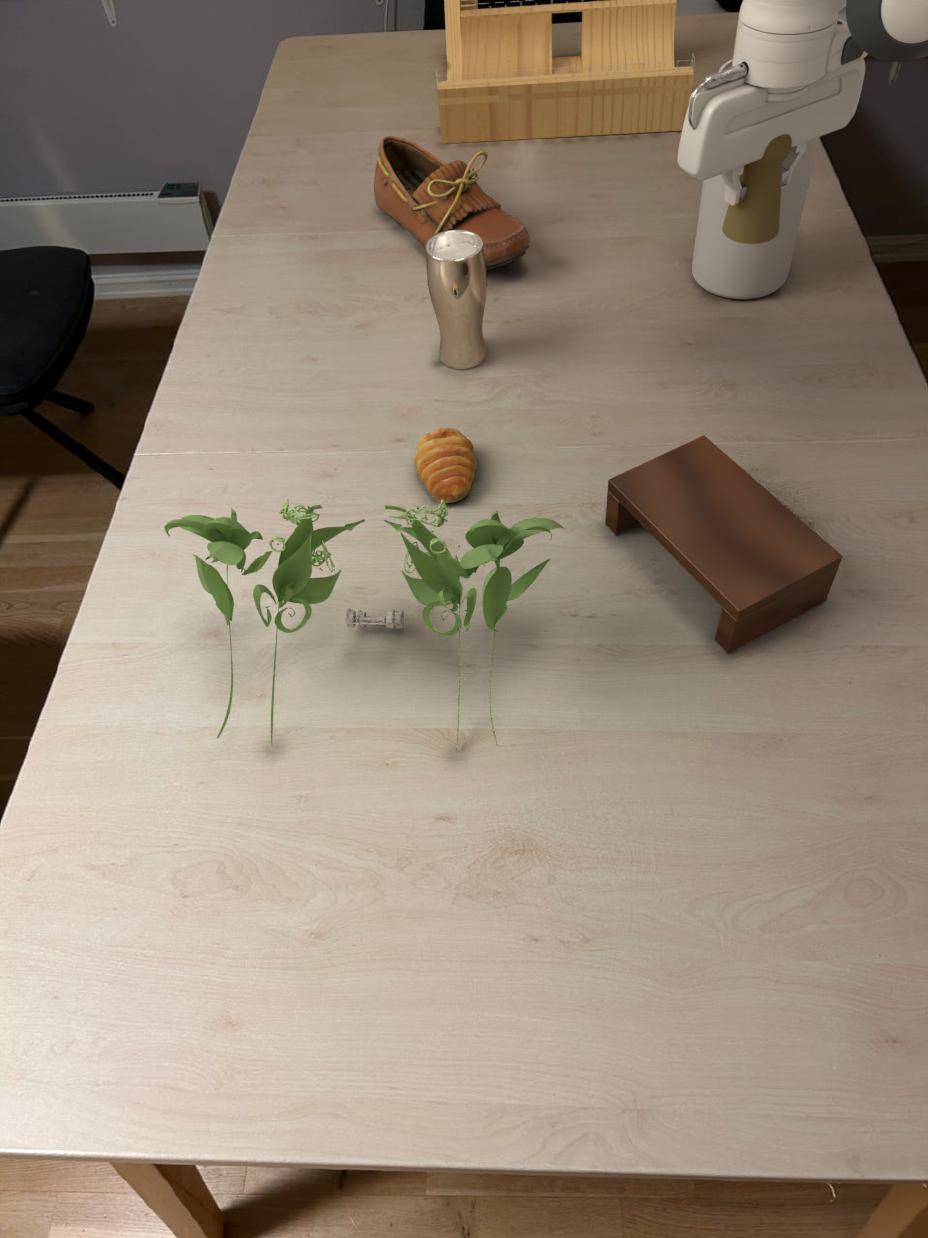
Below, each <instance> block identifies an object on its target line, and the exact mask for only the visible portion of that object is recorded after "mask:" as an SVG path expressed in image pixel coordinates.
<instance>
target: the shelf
mask: <svg viewBox="0 0 928 1238" xmlns="http://www.w3.org/2000/svg"><path fill="white" fill-rule="evenodd" d="M606 493H607V494H606V509H605V521H604V525H605V526H606V527H607V528H608V529H609V531H610V532H612V533H613V535H614V536H619V535H620V534H623V533H624V532H627V531H628V530H631V529H633V528H635V527H637V526H639V525H641V526H642V527H643V528H644V529H645V530H646V531H647V532H648V533H649V534H650V536H652V537H653V538H654V539H655V540H656V541H657V542H658V543H659V544H660V545H661V546H662V547H663V548H664V549H665V550H666V551H667V553H668V554H670V555H671V556H672V557H673V558H674V559H675V560H676V561H677V562H678V563H679V564H680V565H681V566H682V568H683V569H685V571H686V572H687V573H688V574H689V575H690V576H691V577H692V578H694V580H695V581H696V582H697V583H698V584H699V585H700V586H701V587H702V588H703V589H704V590H705V591H706V592H707V593H708V594H709V595H710V596H711V597H712V598H713V599H714V600H715V601H716V602H717V603H718V604H719V605H720V606H721V607H722V608H721V610H720V611H721V612H720V615H719V621H718V624H717V628H716V632H715V636H714V641H715V642H716V643H717V644H718V646H719V647H721V648H722V650H723V651H724V652H725V653H726V654H727V655H730V654H731V653H733V652H735V651H737V650H738V649H741V648H742V647H744V646H746V645H748V644H749V643H751V642H753V641H755V640H757V639H759V638H761V637H762V636H764V635H766V634H767V633H768V634H769V632H772V631H773V630H775V629H777V628H779V627H781V626H783V625H785V624H786V623H788V622H791V621H792V620H793V619H795V618H798V617H799V616H801V615H803V614H805V613H807V612H808V611H810V610H812V609H814V608H815V607H817V606H819V605H822V604H823V603H824V602H826V601H827V600H828V597H829V595H830V592H831V590H832V587H833V584H834V581H835V579H836V577H837V573H838V571H839V568H840V565H841V562H842V560H843V557H844V556H843V554H841V553H840V552H839V551H838V550H837V549H836V548H834V547H833V546H832V545H831V544H830V543H829V542H828V541H827V540H825V539H824V538H823V537H822V536H821V535H820V534H818V532H816V531H815V530H814V529H813V528H811V527H810V526H809V525H808V524H807V523H806V522H805V521H803V520H802V519H801V517H799V516H798V515H796V514H795V513H794V512H793V511H792V510H791V509H790V508H789V507H788V506H787V505H785V504H784V503H783V502H781V501H780V500H779V498H777V497H776V496H774V495H773V494H772V493H771V492H770V491H769V490H768V489H767V488H765V486H763V485H762V484H761V483H760V482H759V481H757V480H756V479H755V478H754V477H753V476H752V475H750V473H748V472H747V471H746V470H745V469H744V468H742V466H740V464H738V463H737V462H736V461H734V460H733V458H731V457H730V456H729V455H728V454H727V453H726V452H724V451H723V450H722V449H721V448H720V447H718V446H717V445H716V444H715V443H714V442H713V441H712V440H710V439H709V437H707V436H706V435H701V436H699V437H697V438H695V439H693V440H691V441H688V442H687V443H684V444H683V445H679V446H678V447H675V448H674V449H672V450H669V451H666V452H665V453H663V454H660V455H659V456H656V457H654V458H652V459H650V460H648V461H646V462H643V463H641V464H639V465H637V466H634V467H632V468H630V469H628V470H625V471H624V472H621V473H619V474H618V475H615V476H613V477H611V478H608V480H607V492H606Z"/></svg>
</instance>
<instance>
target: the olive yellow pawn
mask: <svg viewBox="0 0 928 1238" xmlns="http://www.w3.org/2000/svg"><path fill="white" fill-rule="evenodd" d="M791 145H792V139H791V136H790V135H789V134H783V135H780V136H778V137H776V138H774V139H773V140H772V141H771V142H770V143H769V144H768V146H767V147H766V149H765V152H764V154H763V157H762V158H761V159H760V160H757V161H754V162H752V163H749V164H747V165H744V170H743V173H742V174H741V175H738V177H739V180H740V182H741V183H742V184H745V185H747V186H748V190H747V193H746V200H745V201H744V202H741V203H739V204H736V205H733V206H732V205H730V204H729V206H728V209H727V213H726V216H725V220H724V223H723V227H722V230H723V233H724V234H725V236H726V237H728V238H729V239H731V240H733V241H736V242H739V243H744V244H760V243H765V242H768V241H770V240H772V239H774V238H775V237H776V236H777V235H778V232H779V221H780V204H781V186H782V168H783V161H784V160H785V159H786V158H787V156H788V154H789V152H790V149H791Z"/></svg>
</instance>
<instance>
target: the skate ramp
mask: <svg viewBox="0 0 928 1238" xmlns="http://www.w3.org/2000/svg"><path fill="white" fill-rule="evenodd" d="M443 1H444V20H445V21H444V23H445V24H444V25H445V46H446V47H445V48H446V49H445V50H446V80H440V81H439V76H440V77H441V76H442V74H438V68H435V69H436V70H435V78H436V80H435V83H436V84H435V85H436V95H437V107H438V115H439V128H440V140H441V145H442V144H443V145H444V144H446V145H447V144H465V143H480V142H482V143H483V142H499V141H515V140H516V141H517V140H519V141H520V140H535V139H536V140H537V139H552V138H553V139H554V138H571V137H573V138H574V137H588V136H589V137H591V136H605V135H606V136H607V135H626V134H627V135H628V134H643V133H645V134H646V133H663V132H664V133H665V132H682V129H683V125H684V121H685V117H686V113H687V110H688V107H689V100H690V96H691V94H692V93H693V92H694V90H693V89H694V83H695V72H694V71H695V68H694V67H695V64H696V59H695V58H694V57H695V56H694V54H692V57H691V63H690V65H689V66H676V65H675V23H676V13H677V12H676V11H677V3H678V0H593V1H580V2H565V3H553V0H550V4H534V5H522V2H519V4H520V5H519V6H518V5H517V6H504V7H503V6H502V7H487V8H479V2H478V0H443ZM530 1H533V0H526V2H530ZM516 2H518V0H517V1H516V0H515V1H513V0H512V1H511V3H516ZM500 3H503V1H499V2H497V1H496V4H500ZM485 4H488V2H484V3H483V2H482V3H480V5H485ZM579 12H580V13H581V37H580V39H581V40H580V42H581V43H580V55H574V56H558V57H553V52H552V51H553V27H552V25H553V24H552V23H553V14H564V13H565V14H566V13H579ZM693 58H694V59H693ZM689 61H690V59H684V60H683V59H681V62H689ZM679 62H680V60H676V63H679Z"/></svg>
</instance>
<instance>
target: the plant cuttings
mask: <svg viewBox="0 0 928 1238" xmlns="http://www.w3.org/2000/svg"><path fill="white" fill-rule="evenodd" d="M415 507H416V509H414V508H409V509H405V508H403V507H400V506H395V505H386V504H385V505H384V508H385V510H395V511H400V512H403V513H402V514H399V515H397V514H391V513H388V514H387V517H389V518H394V519H398V520H399V519H400V520H405V523H406V525H407V526H403V525H402V524H400V523H395V522H392V521H389V520H386V519H383V522H384V523H386V524H388V525H390V526H391V527H392V528H394V529H395V531H396V532H400V535H401V538H402V540H403V541H402V542H403V543H404V545H405V548H406V554H405V557H404V560H403V568H404V571H405V572H404V571H403V570H401V571H400V572H401V573H402V575H403V578H404V579H405V581H406V583H407V585H408V587H409V589H410V591H411V593H412V595H413V597H414V598H415V599H416V601H417V602H418V603H420V604H422V605H424V607H423V608H422V610H421V619H422V621H423V623H424V624H425V626H426V627H427V628H428V630H430V631H431V632H433V633H434V634H436V635H438V636H441V637H450V636H453V635H456V634H457V633H458V683H457V684H458V687H457V688H458V689H457V693H458V694H457V727H456V746H455V747H456V748H455V753H457V751H458V741H459V730H460V729H459V727H460V697H461V695H460V689H461V687H460V686H461V685H460V684H461V629H462V627H464V629H465V631H466V632H467V631H468V630H469V628H470V624H471V619H472V617H473V614H474V611H475V608H476V604H477V598H478V593H477V589H476V587H471V588H470V589H468V590H467V592H466V594H465V596H464V597H463V600H462V596H463V584H462V582H461V580H460V577H461V578H463V579H467V580H468V579H470V578H471V576H472V575H473V574H474V573H475V574H476V573H477V571H478V569H479V567H480V566H481V565H482V566H483V567H486V564H487V563H489V562H493V561H494V563H495V566H496V567H494V568H493V569H491V570H490V571H489V573H488V574H487V575H486V577H485V579H484V582H483V586H482V593H481V606H482V613H483V619H484V623H485V624H486V627H487V628H488V629H489V630H491V631H493V635H495V634H496V633H499V631H498V630H497V628H496V625H497V624H498V623H499V621H500V620H501V619H502V618H503V617H504V615H505V614H506V612H507V610H508V608H509V607H508V602H511V601H514V600H516V599H518V598H520V597H521V596H522V595H523V594H524V593H525V592H526V591H527V590H528V589H529V588H530V587H531V585H532V584H533V583H534V582H535V581H536V579H537V578H538V576H539V575H540V574H541V572H542V571H543V570H544V568H545V567H546V566H547V564H548V563H549V562H550V561H551V559H550V558H548V559H546V560H544V561H542V562H541V563H539V564H538V565H535V566H534V567H533V568H531V569H530V570H528V571H527V572H526V573H524V574H522V575H521V576H520V577H519V578H517V579H516V580H515V581H514V582H513V578H512V573H511V570H510V569H509V567H507V566H504V565H502V566H501V563H502V559H505V558H506V557H509V556H510V555H512V554H515V553H516V552H517V551H518V550H520V549H521V548H522V547H523V545H524V543H525V540H524V539H526V538H529V537H532V536H535V535H538V534H540V533H544V532H547V533H550V539H549V540H550V541H552V537H553V535H552V532H551V531H552V530H555V529H562V530H563V529H564V526H563V525H562V524H560V523H559V522H557V521H556V520H554V519H551V518H548V517H530V518H526V519H523V520H520V521H518V522H516V523H514V524H512V525H511V526H509V528H508V527H507V526H506V525H505V524H503V522H502V521H501V518H500V515H499V510H496V511H495V512H493V513H492V514H491V515H490V518H486V519H481V520H479V521H477V522H476V523H475V524H473V525H472V526H471V527H469V529H468V530H467V531H466V533H465V534H464V535H465V536H464V537H465V540H466V542H467V543H468V545H469V546H470V547H472V549H470V550H468V551H466V552H465V553H464V554H463V555H462V556H461V557H460V560H459V558H458V556H457V554H455V557H453V556H452V554H451V552H450V550H449V548H448V546H447V543H446V542H445V540H443V539H440V538H439V537H438V536H436V535H435V534H434V529H432V530H431V531H430V530H429V529H428V527H426V526H425V525H429V526H430V525H431V526H432V527H434V528H440V527H442V526H443V525H445V522H446V523H448V519H447V518H446V517H447V516H449V512H448V509H447V505H446V503H444V500H443V499H442V501H441V503H440V504H438V507H437V508H435V509H432V508H431V506H429V505H427V504H424V505H422V506H421V507H419V506H418V505H416V506H415ZM426 508H427V509H428V510H427V509H426ZM321 509H323V507H322V505H321V504H315V505H312V506H310V504H309V505H307V507H305V506H304V505H302V504H300V503H299V504H296V505H294V507H292V508H291V507H290V505H289V498H286V499H285V502H284V503H283V504H282V507H281V509H280V510H279V514H280V515H281V518H282V520H283V519H284V520H285V521H290V523H291V524H293V525H295V526H296V528H295V529H293V532H292V533H291V535H290V536H289V537H288V538H287V540H286V539H285V537H283V536H275V537H272V538H271V539H270V540H269V547H270V549H271V550H268V551H265V552H264V554H262V555H260V556H258V557H257V558H255V559H254V560H253V561H252V562H251V563H250V565H249V566H248V567H247V569H246V568H245V565H246V562H247V561H246V560H247V555H246V551H245V550H246V549H248V547H249V546H250V545H251V543H252V540H260V541H261V540H262V541H263V540H264V538H263V536H262V534H261V532H260V531H258V530H255V531H252V532H250V531H248V530H247V529H246V527H244V526H243V525H242V524H241V523H240V522H239V521H238V515H237V512H236V510H234V509H233V508H232V507H230V510H231V513H230V517H229V516H228V517H227V516H220V517H216V518H213V517H211V516H208V515H201V514H190V515H186V516H183V517H181V518H177V519H172V520H170V521H168V522H167V523H166V524H165V525H164V531H165V533H166V534H167V536H168V537H171V534H169V531H170V530H171V529H176V528H180V529H183V530H185V531H188V532H190V533H192V534H194V535H197V536H199V537H201V538H203V539H205V540H208V543H207V546H206V547H207V551H208V553H209V554H208V555H207V556H206V557H205V560H204V559H202V558H201V557H200V556H198V555H197V554H193V557H194V559H195V563H196V564H195V565H196V570H197V575H198V579H199V581H200V584H201V587H202V588H203V589H204V590H205V592H206V593H208V594H210V595H211V596H212V598H213V600H214V601H215V605H216V607H217V609H218V610H219V611H220V612H221V613H222V614H223V616H224V619H225V622H226V627H229V630H231V621H232V622H233V615H234V607H235V600H234V596H233V594H232V592H231V589H230V587H229V579H228V577H229V573H228V572H229V566H236V569H237V570H240V573H241V576H247V575H250V574H254V573H257V572H259V571H260V570H261V569H263V567H264V566H265V564H266V562H267V561H268V560H269V558H270V557H271V555H272V553H273V551H274V552H277V553H280V554H279V558H278V563H277V568H276V569H275V571H274V572H273V575H272V580H271V581H272V583H271V585H272V588H273V590H274V593H275V595H276V597H277V600H276V598H275V596H274V594H273V592H272V591H271V590H270V589H269V588H268V586H266V585H263V584H260V583H259V584H256V585H255V586H254V587H253V591H252V596H253V602H254V605H255V607H256V610H257V612H258V614H259V616H260V618H261V621H262V623H263V624H264V626H265V627H266V628H268V627H269V626H270V624H271V623H272V613H271V611H270V609H269V608H270V606H269V605H268V606H264V609H266V616H267V619H266V618H265V617H264V615H263V612H262V608H261V598H262V595H263V594H264V593H265V594H267V595H268V596H269V597H270V598H271V599H272V601H273V603H274V604H275V605H278V606H277V613H276V615H275V616H274V625H275V627H276V630H275V631H276V632H275V648H274V658H273V672H272V687H271V704H270V705H271V706H270V745H273V733H274V731H273V730H274V729H273V728H274V705H275V704H274V703H275V685H276V683H275V682H276V679H275V678H276V665H277V664H276V663H277V661H276V660H277V647H278V645H277V643H278V630H279V631H280V632H282V633H286V634H292V633H295V632H297V631H299V630H300V629H302V628H304V626H305V625H306V624H307V623H308V622H309V620H310V618H311V617H312V612H313V608H312V606H311V605H317V604H321V603H323V602H325V601H326V600H328V599H329V597H330V596H331V595H332V592H333V590H334V588H335V586H336V584H337V581H338V579H339V577H340V575H341V573H342V569H338V570H339V571H338V572H336V573H335V574H333V575H330V576H329V575H328V576H324V577H311V576H312V572H313V567H315V568H316V567H317V568H318V567H320V566H322V565H323V564H324V563H326V566H327V568H328V570H329V572H330V573H333V572H335V571H336V569H335V567H336V566H335V564H334V562H333V560H332V558H331V556H332V552H330V551H329V550H328V548H327V545H326V543H328V542H329V541H330V540H332V539H333V538H335V537H336V536H338V535H339V534H341V533H343V532H345V531H353V530H354V528H356V527H357V526H358V525H360V524H362V523H364V522H366V519H364V518H363V519H361V520H358V521H355V522H351V523H345V524H344V525H343V526H325V527H321V528H317V529H314V522H316V521H318V520H319V518H320V513H316V512H314V511H316V510H321ZM411 512H413V514H412V513H411ZM301 513H304V514H301ZM418 514H424V515H423V516H422V517H421V518H418V517H417V516H416V515H418ZM427 514H430V515H433V516H435V517H434V518H433V520H431V521H430V522H428V521H427V520H429V518H428V516H427ZM409 522H410V523H409ZM435 522H436V523H435ZM424 524H425V525H424ZM410 526H411V527H410ZM402 532H405V533H406V534H408V535H409V536H411V537H412V538H414V539H415V540H417V541H418V542H419V543H421V545H422V546H423V548H424V549H425V550H426V551H423V550H421V549H420V547H419V545H418V544H419V543H418V542H417V541H413V542H411V541H410V540H409V539H408V538H407V537H406V536H405V535H404V534H403V533H402ZM275 541H276V542H277V543H276V545H277V546H279V545H280V543H282V545H283V546H282V548H281V549H276V548H275V547H274V546H273V543H274V542H275ZM320 547H322V550H320V549H318V548H320ZM460 547H461V545H460V544H458V545H457V548H460ZM319 553H320V554H319ZM409 557H410V560H411V561H410V563H409V561H408V560H409ZM209 559H212V560H211V561H210V563H207V562H206V561H207V560H209ZM328 560H329V561H328ZM217 562H219V563H221V564H224V565H226V581H225V580H224V579H223V576H222V575H221V573H220V571H218V570H217V568H215V567H214V566H213V565H211V564H213V563H217ZM329 562H330V565H329ZM316 563H317V564H316ZM406 565H407V568H408V570H407V568H406ZM412 566H414V568H413V570H412V571H410V569H411V567H412ZM330 567H331V568H330ZM319 570H320V571H321V572H323V571H324V570H323V569H322V568H321V567H320V568H319ZM415 570H416V572H417V574H418V575H419V576H420V578H418V577H417V578H416V577H412V576H409V575H408V574H412V573H414V572H415ZM512 582H513V583H512ZM465 599H466V609H464V611H465V612H466V613H465V615H464V620H463V621H462V617H461V607H462V605H463V603H464V601H465ZM461 601H462V602H461ZM288 603H294V604H297V605H298V604H299V605H302V606H303V607H304V610H305V613H304V616H303V619H302V620H301V622H300V623H299V624H298V625H297V626H296V627H294V628H287V627H286V626H285V624H284V623H283V620H282V616H283V614H284V612H285V611H286V610H288V607H285V605H287V604H288ZM450 605H452V608H449V607H448V606H450ZM283 607H284V608H283ZM438 607H439V608H440V607H445V608H446V609H448V611H449V613H451V614H452V615H453V616H454V620H455V621H454V625H453V627H452V628H451V629H449V630H447V631H445V632H443V631H439V630H437V629H436V628H435V626H434V625H433V623H432V621H431V616H430V615H431V612H432V610H433V609H434V608H438ZM281 608H282V609H281ZM279 609H281V610H279ZM289 609H290V610H292V611H293V615H292V614H291V613H290V612H288V613H287V614H288V615H289V616H290V618H293V617H294V616H296V611H295V610H294V609H293V608H292V607H289ZM357 611H358V612H357ZM357 611H356V610H352V609H351V608H347V609H346V614H345V622H344V624H346V626H347V628H355V627H356V625H357V627H358V628H366V627H367V626H386V628H389V629H395V628H396V629H403V628H404V623H405V619H404V618H405V614H404V613H405V612H404V610H400V611H395V608H393V609H391V610H387V612H386V615H382V617H371V616H370V615H367V612H366V611H362V609H358V610H357ZM457 611H458V613H457ZM446 612H447V610H444V611H443V612H442V613H441V615H440V618H441V619H442V621H445V620H446V619H447V617H448V616H444V618H443V614H444V613H446ZM495 632H496V633H495ZM494 646H495V637H493V640H492V649H494ZM229 647H230V648H229V649H230V690H229V691H230V693H229V699H228V703H227V704H228V705H227V709H226V713H225V717H224V720H223V723H222V725H221V727H220V730H219V732H218V734H217V736H216V739H219V738H220V736H221V735H222V733H223V731H224V729H225V727H226V724H227V722H228V719H229V717H230V713H231V709H232V703H233V693H234V692H233V691H234V665H233V649H232V648H233V647H232V632H231V631H229ZM491 651H492V653H491V662H490V663H491V664H490V678H489V714H490V715H489V716H490V723H491V729H492V733H493V734H492V735H493V737H494V740H495V743H496V747H497V748H499V744H498V741H497V737H496V732H495V726H494V719H493V712H492V698H491V697H492V696H491V695H492V693H491V691H492V676H493V675H492V673H493V659H494V650H491Z"/></svg>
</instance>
